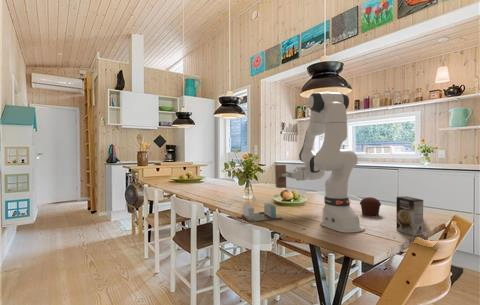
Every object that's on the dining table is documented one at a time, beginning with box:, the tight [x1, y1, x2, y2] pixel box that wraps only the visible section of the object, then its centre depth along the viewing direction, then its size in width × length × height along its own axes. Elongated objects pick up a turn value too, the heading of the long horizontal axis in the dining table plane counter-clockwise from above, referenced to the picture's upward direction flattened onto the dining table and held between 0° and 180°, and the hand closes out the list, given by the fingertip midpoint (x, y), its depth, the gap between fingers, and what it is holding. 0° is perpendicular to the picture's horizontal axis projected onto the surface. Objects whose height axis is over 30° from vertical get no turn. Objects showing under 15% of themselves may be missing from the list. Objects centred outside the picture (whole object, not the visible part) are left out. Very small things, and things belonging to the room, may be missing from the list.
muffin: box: [359, 196, 382, 217], centre depth 158 cm, size 12×11×10 cm
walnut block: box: [274, 164, 287, 189], centre depth 167 cm, size 5×5×14 cm
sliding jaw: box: [263, 202, 277, 218], centre depth 157 cm, size 12×3×6 cm, turn 14°
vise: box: [241, 203, 283, 223], centre depth 156 cm, size 16×20×7 cm
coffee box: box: [396, 195, 424, 237], centre depth 124 cm, size 9×6×16 cm
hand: (279, 174), depth 167 cm, fingers closed on walnut block, 5 cm apart
